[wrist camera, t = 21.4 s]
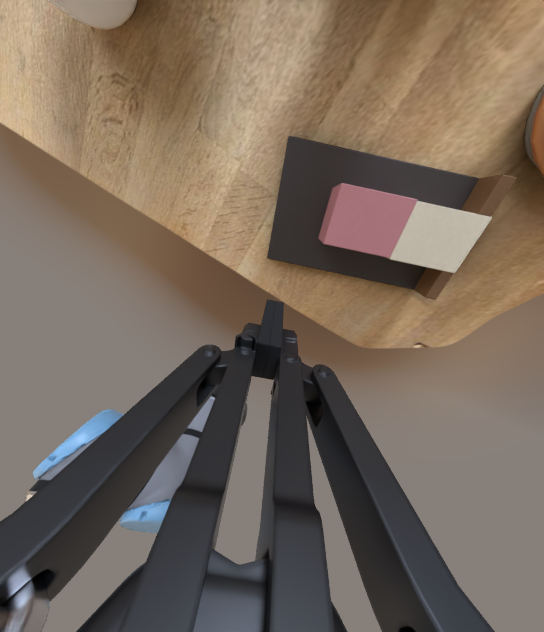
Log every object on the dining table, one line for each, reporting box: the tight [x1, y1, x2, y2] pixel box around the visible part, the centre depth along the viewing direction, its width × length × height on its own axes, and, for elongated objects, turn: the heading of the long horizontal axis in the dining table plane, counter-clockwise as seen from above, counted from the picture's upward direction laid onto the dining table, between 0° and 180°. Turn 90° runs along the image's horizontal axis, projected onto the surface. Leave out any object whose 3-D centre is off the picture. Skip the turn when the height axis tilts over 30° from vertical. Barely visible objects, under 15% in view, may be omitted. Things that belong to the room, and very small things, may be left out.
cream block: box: [386, 201, 492, 273], centre depth 24 cm, size 6×8×5 cm
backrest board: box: [267, 136, 517, 299], centre depth 25 cm, size 14×24×4 cm, turn 79°
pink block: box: [318, 183, 417, 258], centre depth 23 cm, size 6×8×5 cm
